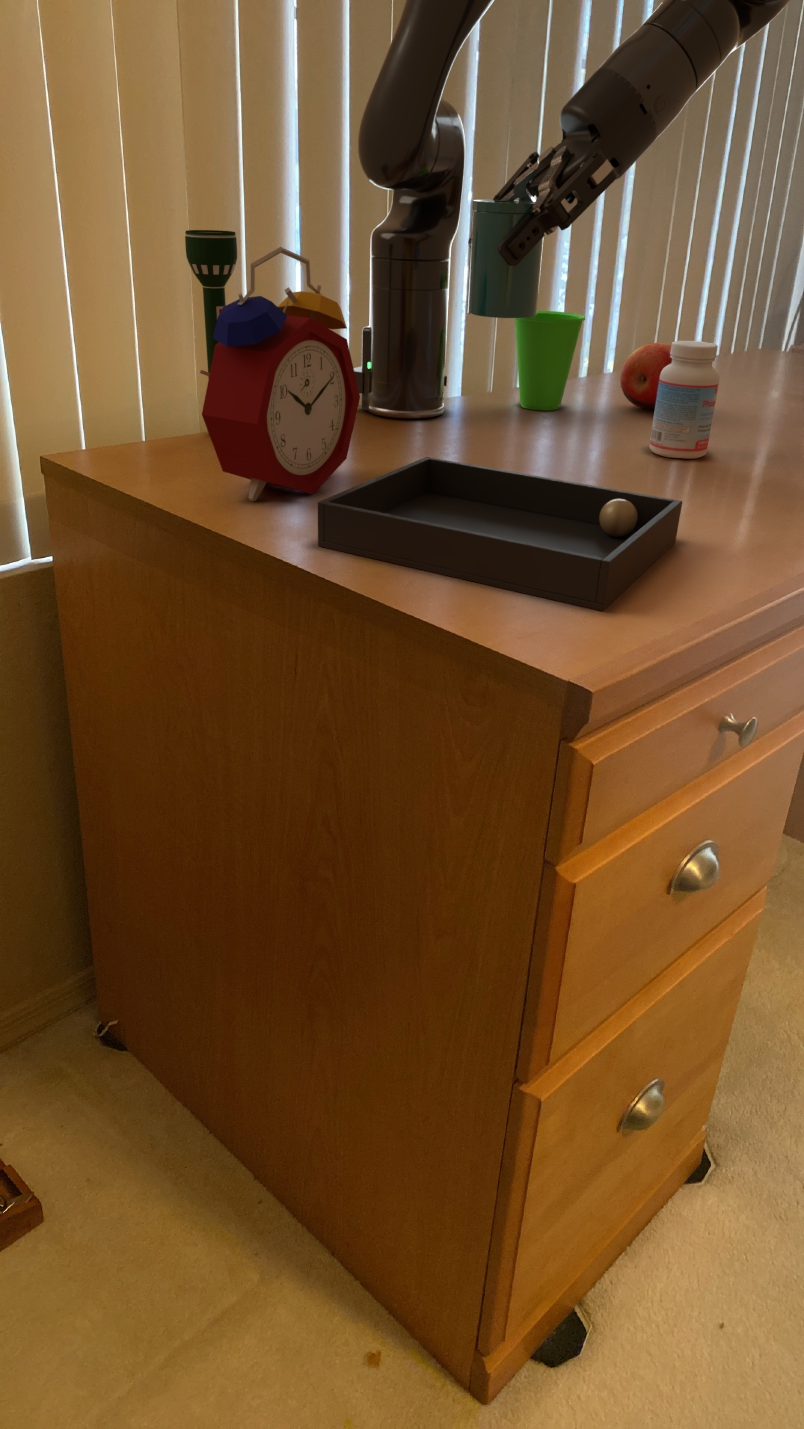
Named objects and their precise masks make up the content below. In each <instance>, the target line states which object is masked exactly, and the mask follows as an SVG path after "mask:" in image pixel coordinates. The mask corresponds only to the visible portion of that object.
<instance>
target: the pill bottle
mask: <svg viewBox="0 0 804 1429" xmlns="http://www.w3.org/2000/svg"><path fill="white" fill-rule="evenodd" d="M671 345H672V346H671V352H670V354H671V356H670V357H671V358H672V363H671V364H669V365H667V366H666V367H664V368H663V370H662V371H661V374H660V379H659V386H658V392H657V398H656V405H655V408H654V412H653V419H652V424H651V425H652V426H651V431H650V440H649V446H648V447H649V450H650V451H651V452H652V453H653V454H656V455H658V456H661V457H665V458H670V459H671V458H672V459H673V458H674V459H686V460H687V459H689V460H690V459H691V460H692V459H699V458H702V457H704V456H705V455H707V451H708V447H709V442H710V435H711V429H712V424H713V418H714V413H715V407H716V402H717V396H718V389H719V385H720V374H719V371H718V370H717V369H716V368H715V367H713V362H715V361H716V358H717V354H718V353H717V352H718V347H719V346H718V344H717V343H713V342H707V341H699V340H697V341H696V340H675V341H672V343H671Z"/></svg>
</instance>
